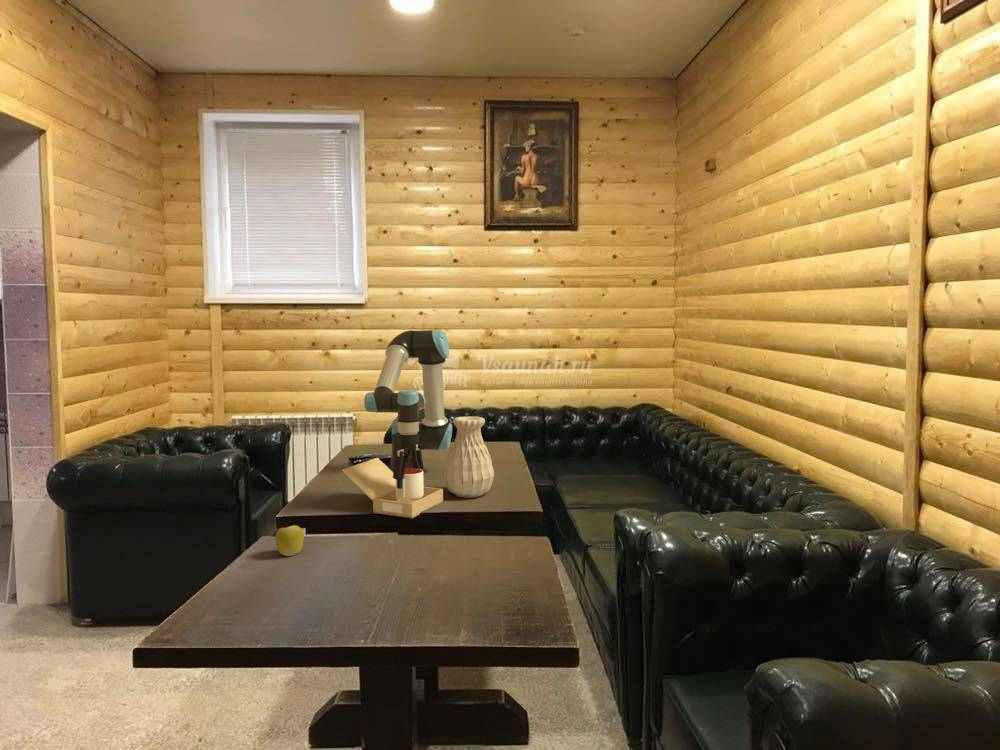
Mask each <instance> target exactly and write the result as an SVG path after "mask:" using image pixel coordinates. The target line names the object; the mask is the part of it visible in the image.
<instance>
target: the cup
mask: <svg viewBox="0 0 1000 750" xmlns="http://www.w3.org/2000/svg"><path fill="white" fill-rule="evenodd" d="M403 479H405V497H404V498H403V497H397V479H396V497H397V499H399V500H402V501H415V500H419V499H421V498H422V497H423V495H424V488H423V487H424V469H423V470H421V469H415V468H408V469H406V470H405V474H404V477H403Z"/></svg>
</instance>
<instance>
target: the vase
mask: <svg viewBox="0 0 1000 750" xmlns="http://www.w3.org/2000/svg"><path fill="white" fill-rule="evenodd" d="M485 422H486V420H485V418H484V417H480V416H468V415H467V416H458V417H455V418H454V417H453V419H452V423H453V425H454V426H455V427H456V435H455V439H454V441H453V444H452V445H451V447H450V449H449V453H448V454H447V458H446V462H445V468H444V472H443V479H444V482H445V486H446V488H447V489H448V491H449V492H451V493H452V494H454V495H455V496H456V497H459V498H465V499H468V498H471V499H473V498H478V497H481V496H483V495H484V494H486V493H487V492H488V491H489V490H490V489H491V488H492V484H493V481H494V478H495V472H494V471H495V470H494V467H493V463H492V462H493V461H492V457H491V455H490V453H489V450H488V449H489V448H488V447H487V445H486V444H485V441H484V439H483V436H482V431H481V429H482V428H483V426H484V425H485Z"/></svg>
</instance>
